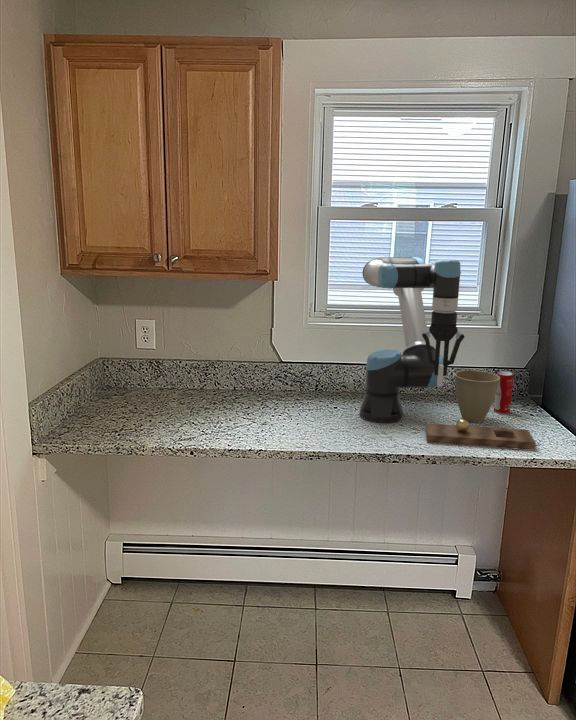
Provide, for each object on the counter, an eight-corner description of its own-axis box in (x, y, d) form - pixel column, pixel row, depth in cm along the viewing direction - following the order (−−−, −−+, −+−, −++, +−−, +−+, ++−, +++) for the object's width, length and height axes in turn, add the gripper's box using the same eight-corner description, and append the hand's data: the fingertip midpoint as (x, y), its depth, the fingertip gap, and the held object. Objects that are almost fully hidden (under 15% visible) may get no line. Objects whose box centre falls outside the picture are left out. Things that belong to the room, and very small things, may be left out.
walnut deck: (426, 442, 182) (427, 435, 181) (425, 430, 192) (426, 423, 192) (534, 450, 176) (535, 442, 176) (527, 437, 187) (527, 429, 186)
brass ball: (456, 433, 183) (457, 421, 182) (455, 428, 187) (455, 416, 186) (469, 433, 182) (470, 421, 181) (467, 429, 186) (468, 417, 185)
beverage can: (507, 409, 214) (511, 370, 210) (512, 415, 207) (516, 375, 204) (491, 408, 214) (494, 369, 211) (495, 414, 208) (499, 374, 204)
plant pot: (484, 429, 193) (488, 384, 189) (443, 419, 203) (447, 375, 199) (502, 418, 204) (507, 375, 200) (463, 409, 213) (466, 367, 210)
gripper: (423, 312, 174) (418, 387, 180) (468, 313, 172) (462, 389, 178) (422, 308, 181) (418, 381, 187) (465, 310, 179) (459, 383, 185)
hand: (439, 385), depth 182 cm, fingers closed
